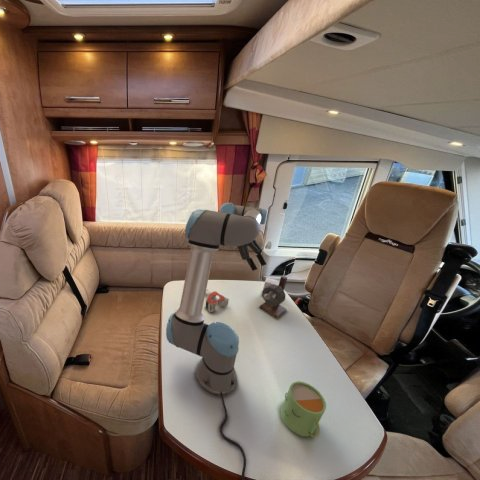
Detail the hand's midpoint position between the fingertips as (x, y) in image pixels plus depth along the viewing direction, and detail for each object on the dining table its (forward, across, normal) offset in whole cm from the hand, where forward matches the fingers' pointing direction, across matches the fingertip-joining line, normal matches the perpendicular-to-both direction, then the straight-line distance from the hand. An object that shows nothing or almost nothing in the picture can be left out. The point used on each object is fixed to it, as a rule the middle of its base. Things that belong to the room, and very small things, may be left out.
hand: (259, 267), depth 123 cm
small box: (+19, -16, -16) cm, 29 cm away
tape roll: (+20, -1, -5) cm, 20 cm away
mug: (+49, +40, +14) cm, 65 cm away
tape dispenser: (+5, +16, -26) cm, 31 cm away
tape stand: (+24, -2, -10) cm, 26 cm away
